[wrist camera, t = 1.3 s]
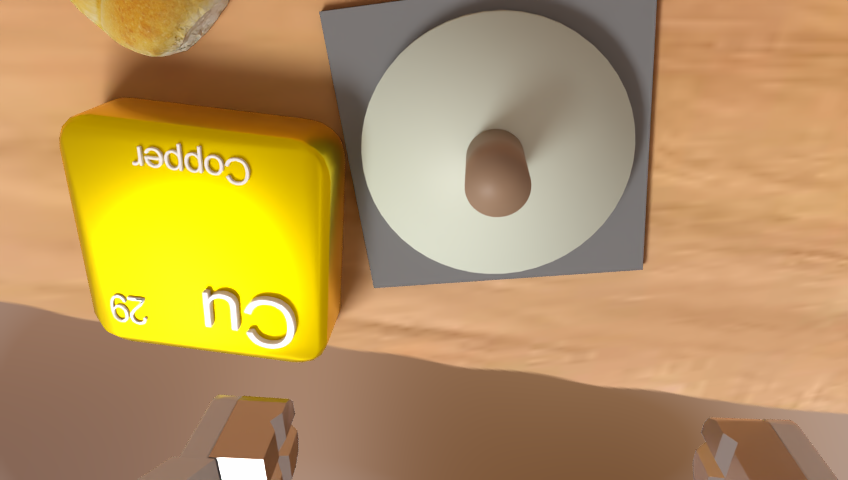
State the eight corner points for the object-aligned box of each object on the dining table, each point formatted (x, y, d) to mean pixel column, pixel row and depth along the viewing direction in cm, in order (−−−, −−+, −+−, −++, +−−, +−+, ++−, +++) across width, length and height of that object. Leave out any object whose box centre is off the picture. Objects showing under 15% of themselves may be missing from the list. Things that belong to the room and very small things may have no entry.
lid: (636, -10, 27) (670, -2, 23) (626, 256, 34) (651, 307, 29) (341, 29, 29) (314, 44, 25) (386, 273, 36) (372, 323, 31)
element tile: (348, 121, 33) (329, 146, 28) (340, 329, 39) (324, 374, 35) (97, 91, 33) (41, 111, 29) (133, 302, 40) (92, 343, 36)
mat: (656, -35, 27) (658, -35, 27) (640, 266, 35) (642, 269, 34) (320, 11, 29) (319, 11, 29) (374, 284, 37) (373, 288, 37)
